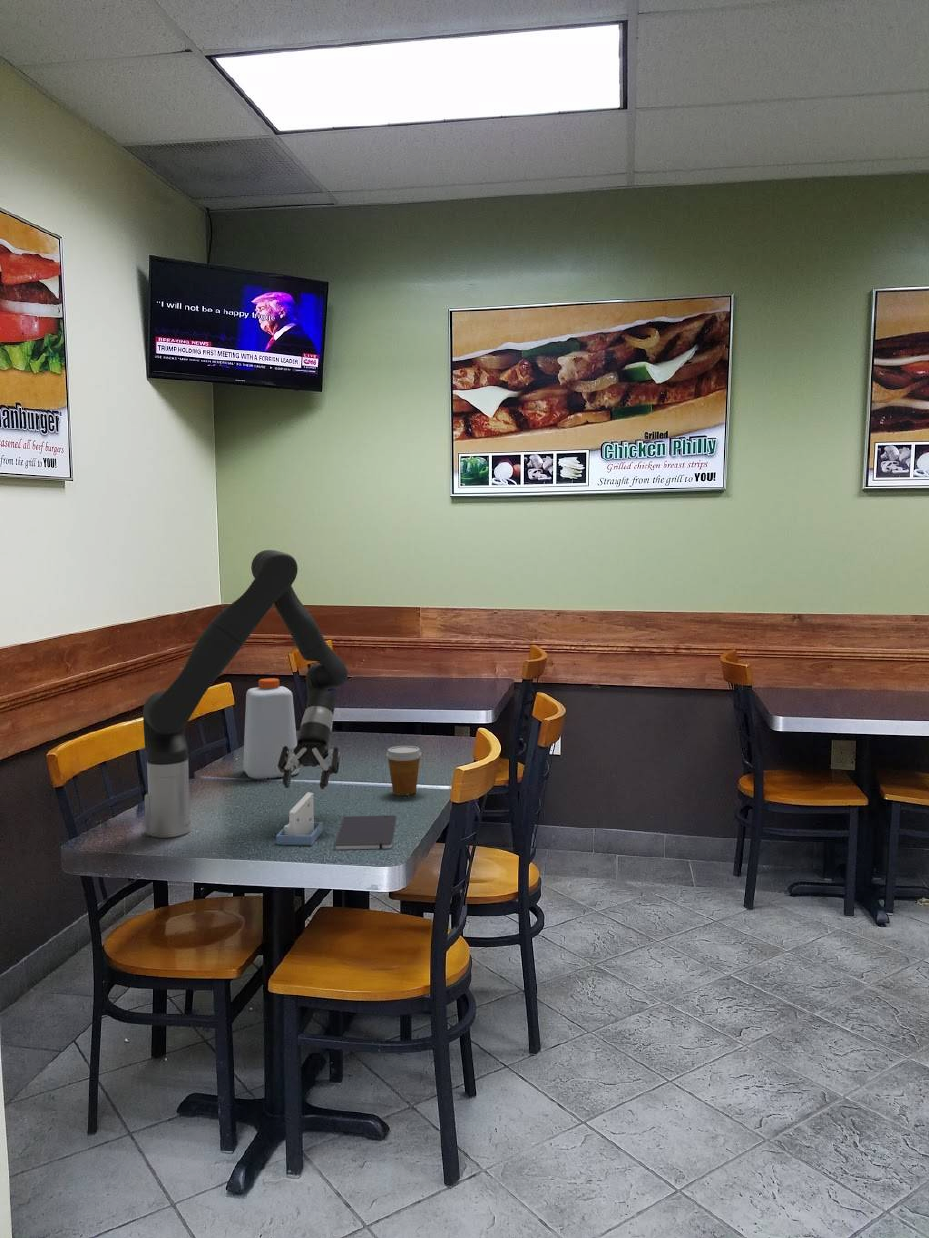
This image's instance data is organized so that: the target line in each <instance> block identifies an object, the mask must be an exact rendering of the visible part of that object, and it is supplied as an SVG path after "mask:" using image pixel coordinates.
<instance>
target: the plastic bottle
mask: <svg viewBox="0 0 929 1238" xmlns="http://www.w3.org/2000/svg"><path fill="white" fill-rule="evenodd" d="M293 696H294V695H293V692H292V691H291V690H290V689H288V688H287V687H285V686H283V685H282V686H280V679H279V678H273V677H272V678H270V677H269V678H261V679H259V680H258V687H252V688H249V689H248V690H247V691H246V695H245V714H244V715H245V716H244V718H245V719H244V738H243V739H244V740H243V763H242V764H243V765H242V769H243V771H244V773H246V775H247V776H248V777H249V778H250V779H253V780H267V778H269V779H276V778H277V777H278V778H283V776H284V772H280V770H279V768H278V763H279V759H280V756H281V752H282V749H283V747H284V746H287V747H288V748H291V749H294V748H295V747H296V746H297V742H298V737H297V729H296V727H297V726H296V718H295V707H294V697H293ZM294 756H295V754H292V755H291V757H290V758H288V762H287V764H288V763H290V761H291V759H292V758H293V757H294ZM297 762H299V761H297ZM299 772H300V768H299V769H297V770H295V771H294V772H293V773H292V774H291V775H292V776H295V775H297V774H298V773H299Z"/></svg>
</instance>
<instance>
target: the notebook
mask: <svg viewBox="0 0 929 1238" xmlns="http://www.w3.org/2000/svg"><path fill="white" fill-rule="evenodd" d="M396 819H397V816H396V815H388V814H387V815H361V816H357V815H353V816H352V815H350V816H344V817H343V820H342V823H341V826H340V828H339V831H338V834H337V836H336V840H335V843H334V845H333V848H334V849H333V850H334V851H335V850H368V849H369V850H375V849H377V850H384V849H391V848H392V846H393V840H394V833H395V827H396V823H397V820H396ZM395 822H396V823H395Z"/></svg>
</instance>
